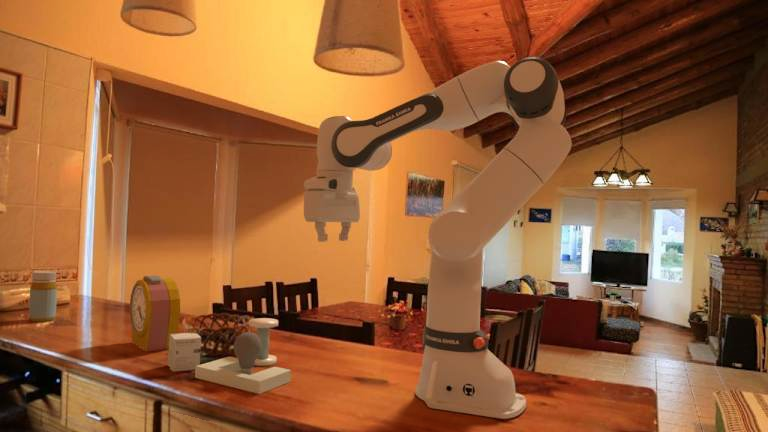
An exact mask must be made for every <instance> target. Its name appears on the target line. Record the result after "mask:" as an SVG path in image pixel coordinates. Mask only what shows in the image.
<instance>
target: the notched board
mask: <svg viewBox="0 0 768 432" xmlns="http://www.w3.org/2000/svg"><path fill="white" fill-rule="evenodd" d="M240 372H241V367H240V365H239V360H238V358H237V357H234V356H227V357H223V358H219V359H216V360H212V361H209V362H206V363H202V364H200V365H198V366H196V368H195V370H194V378H195V379H200V380H202V381H207V382H211V383H215V384H218V385H223V386H227V387H230V388H235V389H239V390H242V391H245V392H250V393H255V394H258V395H260V394H263V393H266V392H269V391H270V390H273V389H275V388H278V387H280V386H283V385H285V384H288V383H290V382H291V380H292V378H291V377H292V370H291V369H287V368H284V367H280V366H279V367H278V366H273V367H269V368H266V369H263V370H260V371H258V372H255V373H252V374H251V375H247V374H243V373H240Z"/></svg>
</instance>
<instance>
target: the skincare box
mask: <svg viewBox="0 0 768 432" xmlns="http://www.w3.org/2000/svg"><path fill="white" fill-rule="evenodd" d="M201 345H202V336H200V335H199V334H198V333H197V332H183V333H182V332H181V333H178V334H170V335H169V349H168V357H167V366H168V367H170V368H169V370H170V371H171V370H172V371H171V372H172V373H173V372H175V373H176V372H183V371H193V370H194V371H195V368H196V366H198V365H201V364H200V363H201V348H202V347H201Z"/></svg>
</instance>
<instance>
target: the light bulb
mask: <svg viewBox="0 0 768 432" xmlns="http://www.w3.org/2000/svg"><path fill="white" fill-rule="evenodd" d="M261 348H262V342H261V340H260V338H259V337H258V336H257V333H255V332H252V331H245V332H243V333H241V334H240V335H238V336H237V337H236V338H235V340H234V342H233V352H234V354H235V356H236V358H238V360H239V365H240V367H241V372H239V373H243V374H247V375H251V374H253V370H254V369H253V368H254V367H255V366H254V364H255V360H256V358H257V356H258V355H259V353H260V351H261Z"/></svg>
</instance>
